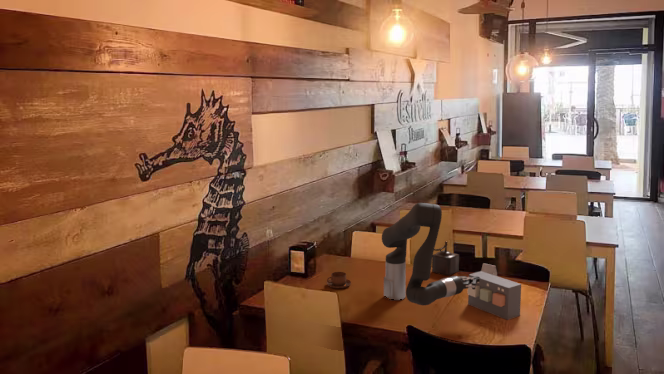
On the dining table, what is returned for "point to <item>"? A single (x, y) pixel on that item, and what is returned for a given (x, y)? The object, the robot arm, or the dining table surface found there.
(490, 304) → the console
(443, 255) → the dark brown coffee grinder
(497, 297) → the button terracotta
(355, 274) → the dining table surface
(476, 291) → the button cream
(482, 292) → the button sage
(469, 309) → the dining table surface
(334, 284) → the cup and saucer
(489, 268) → the pale pink rectangular block
